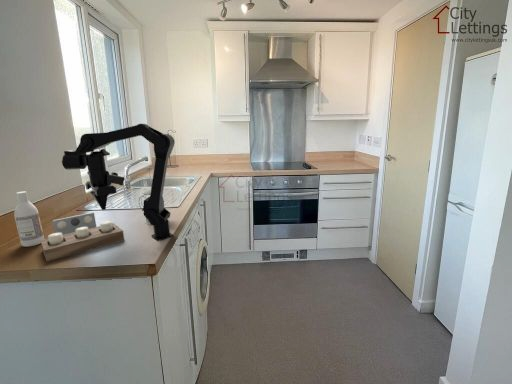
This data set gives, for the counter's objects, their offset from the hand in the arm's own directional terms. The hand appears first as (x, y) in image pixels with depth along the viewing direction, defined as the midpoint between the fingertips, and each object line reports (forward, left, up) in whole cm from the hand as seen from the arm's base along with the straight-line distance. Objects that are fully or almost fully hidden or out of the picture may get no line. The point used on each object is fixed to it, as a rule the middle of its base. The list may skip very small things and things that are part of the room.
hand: (103, 209), depth 104 cm
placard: (+14, +8, -12) cm, 20 cm away
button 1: (0, +16, -9) cm, 19 cm away
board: (0, +8, -12) cm, 14 cm away
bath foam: (+17, +22, -12) cm, 30 cm away
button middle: (0, +8, -9) cm, 12 cm away
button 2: (0, 0, -9) cm, 9 cm away
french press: (+8, -21, -12) cm, 26 cm away
